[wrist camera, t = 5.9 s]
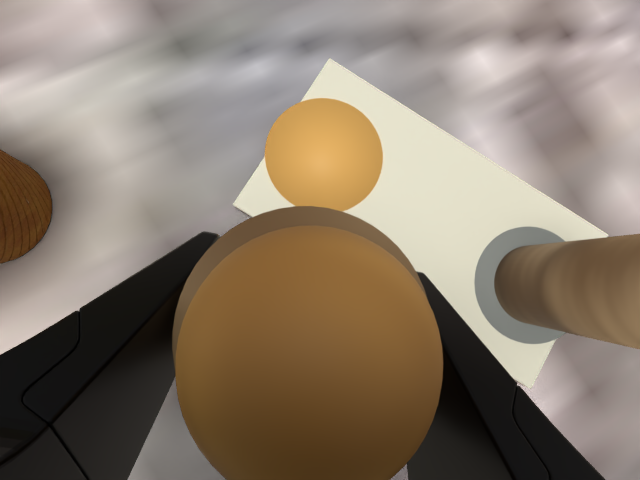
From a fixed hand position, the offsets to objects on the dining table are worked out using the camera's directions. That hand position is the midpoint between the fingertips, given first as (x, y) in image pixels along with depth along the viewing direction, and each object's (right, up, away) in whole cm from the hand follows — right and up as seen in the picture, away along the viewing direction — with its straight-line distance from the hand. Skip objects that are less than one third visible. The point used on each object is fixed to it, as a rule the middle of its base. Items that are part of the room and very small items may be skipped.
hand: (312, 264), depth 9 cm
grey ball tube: (+13, -2, +12) cm, 18 cm away
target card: (+7, +2, +13) cm, 15 cm away
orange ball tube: (-1, -2, +6) cm, 7 cm away
